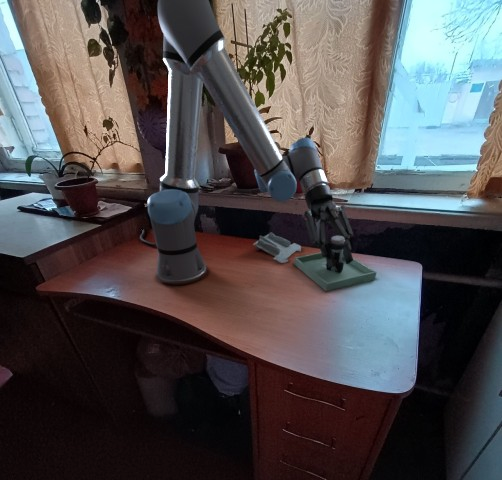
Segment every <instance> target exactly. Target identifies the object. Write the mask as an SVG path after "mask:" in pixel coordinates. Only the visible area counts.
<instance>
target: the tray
mask: <svg viewBox="0 0 502 480" xmlns="http://www.w3.org/2000/svg"><path fill="white" fill-rule="evenodd" d="M333 251H334V250H333ZM342 260H343V262H344V267H343V270H342V272H341V273H338V272H336V271H335V272H333V271H331V270H327V269H326V267H322V265H325V264H322V263H327V261H326V258H325V257H323V256H322V253H321V251H319V252H316V253H311V254H306V255H301V256H296V257H294V262H293V265H294V266H295V267H296V268H298V269H299V270H300V271H301V272H302V273H304V274H305V275H306V276H307V277H309V278H310V279H311V280H313V282H314V283H316V284H317V285H318V286H320V287H321V288H322V289H323V290H324V291H325V292H329V291H333V290H336V289H341V288H345V287H349V286H354V285H357V284H358V285H359V284H362V283H365V282H369V281H373V280H376V275H377V271H376V270H374V269H372V268H371V267H369V266H368V265H366V264H365V263H362V262H361V261H359V260H357V259H356V258H354V257H353V261H352V262H350V263H349V264H346V261H345V258H344V255H343V256H342ZM325 266H326V265H325Z"/></svg>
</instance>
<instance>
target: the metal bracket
mask: <svg viewBox="0 0 502 480" xmlns="http://www.w3.org/2000/svg"><path fill="white" fill-rule="evenodd" d="M252 246H254V247H256V251H257V252H259V250H262V251H264V252H265V253H268V254H270V255H271V256H274V257H273V261H275V262H278V263H279V264H284V263H288V262H289V260H288V258H289V257H291V256H292V255H293V254H294V253H295V252H299V253H300V252H302V246H301V245H300V244H298V243H295V242H293V243H292V244H291V241H290V240H288V239H286V238H284V237H282V236H278V235H276V234H274V233H273V232H271V231H270V232H269V233H268V234H266V235H264V236H262V235H259V239H258V240H257V241H255V242H254V243H253V244H252Z"/></svg>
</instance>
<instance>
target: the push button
mask: <svg viewBox="0 0 502 480" xmlns="http://www.w3.org/2000/svg"><path fill="white" fill-rule="evenodd" d="M327 243H329V246H330V249H331V252H332V255H333V258H334V261H335V265H334V266H333V267H331V268H329V267H328V264H327V263H322V264H325V265H326V266H325V265H322V267H326V269H327V270H331V271H333V272H335V271H336V272H338V273H341V272H342V270H343V267H344V262H343V260H342V256H343V249H344V248H346V244H347V240H346V239H345V238H344V237H343V236H337V235H333V236H331V238H330V239H328V241H327ZM333 250H334V251H333Z"/></svg>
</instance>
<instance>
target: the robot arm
mask: <svg viewBox="0 0 502 480" xmlns="http://www.w3.org/2000/svg"><path fill="white" fill-rule="evenodd" d="M157 17H158V23H159V26H160V29H161V32H162V33H163V41H162V43H163V46H162V48H163V49H162V60H163V62H164V64H165V66H166V68H167V70H168V88H167V89H168V91H167V92H168V93H167V121H166V123H167V124H166V150H165V152H166V153H165V173H164V174H163V175H162V176H161V177H160V178H159V191H157V192H155V193H153V194H151V195H150V196H149V197H148V199H147V202H146V203H147V205H146V206H147V214H148V216H149V219H150V223H151V227H152V231H153V236H154V240H155V243H153V242H150V241H148V240H145V239H144V238H143V237H144V236H145V234H146V231H145V229H143V230H142V229H141V231H142V233H141V234H140V236H139V240H140V241H141V242H142V243H144V244H146V245H149V246H152V247H156V248H157V252H158V253H157V254H158V255H157V263H156V264H157V265H156V275H157V279H158V281H160V282H161V283H163V284H166V285H170V286H171V285H172V286H180V285H187V284H192V283H195V282H197V281H199V280H201V279H203V278H204V277H205V276H206V275H207V272H208V269H207V264H206V261H205V260H204V258H203V255H202V254H201V252H200V250H199V248H198V242H197V235H196V230H195V220H196V217H197V214H198V212H199V194H200V193H199V191H200V184H199V183H198V181H197V179H196V169H197V168H196V167H197V156H198V144H199V135H200V134H199V131H200V121H201V109H202V96H203V86H204V87H205V89H206V90H207V92H208V93H209V95H210V96H211V98H212V100H213V102H214V104H215V105H216V106H217V108H218V110H219V112H220V113H221V115H222V117H223V118H224V119H225V121H226V123H227V124H228V126H229V128H230V130H231V132H232V133H233V135H234V136H235V139H236V140H237V141H238V143H239V145H240V146H241V149H243V151H244V153H245V155H246V156H247V158H248V159H249V161H250V163H251V164H252V167H253V168H254V172H253V173H254V176H255V180H256V182H257V185H258V188H259V191H260V193H262V194H265V193H268V195H269V196H270V198H272V200H274V201H276V202H279V203H285V202H287V201H289V200H291V199H292V198H293V197H294V195H295V194H296V192H297V188H298V186H297V184H298V183H299V184H300V188H301V190H302V193H303V194H302V195H303V196H304V200H305V203H306V206H307V209H308V210H306V211H304V213H303V214H302V216H301V219H302V220H303V222H304V224H305V226H306V230H307V232H308V233H307V234H308V237H309V241H310V244H311V246H312V247H316V248H317V249H318V250H319V251H320V252H321V253H322V256H323V257H325V258H326V261H327V264H328V267H329V268H331V267H333V266H334V265H335V261H334V258H333V255H332V252H331V248H330V246H329V243H328V242H326V231H325V222H327V223H328V225H330V226H331V228H332V229H333V231H334V232H335V234H336V236H343V237H344V238H345V239H346V240H347V244H346V248H344V249H343V255H344V258H345V261H346V264H349V263H350V262H352V261H353V258H354V257H353V254H352V246H351V242H350V239H351V238H352V237H353V236H354V231H353V230H352V229H353V228H352V226H351V223H350V221H349V218H348V216H347V213H346V206H345V205H344V204H342V205H340V206H338V205H336V203H335V202H334V198H333V193H332V190H331V188H330V186H329V182H328V179H327V176H326V173H325V171H324V168H323V165H322V162H321V159H320V155H319V151H318V149H317V147H316V146H315V145H316V144H315V143H314V141H313V139H312V138H309V137H301V138H299V139H297V140H296V142H293V143H292V144H291V145H290V147H289V153H288V154H286V155H284V156H283V154H282V152H281V150H280V149H279V147H278V145H277V144H276V141H275V140H274V137H273V136H272V133H271V132H270V130H269V128H268V126H267V125H266V122H265V121H264V119H263V117H262V115H261V113H260V111H259V110H258V108H257V106H256V104H255V102H254V100H253V99H252V97H251V95H250V93H249V90H248V89H247V86H246V85H245V83H244V82H243V79H242V78H241V76H240V73H239V72H238V71H237V68H236V66H235V65H234V63H233V61H232V59H231V58H230V55H229V54H228V51H227V50H226V48H225V47H226V38H225V36H224V34H223V32H222V30H221V27H220V26H219V23H218V21H217V19H216V17H215V14H214V11H213V9H212V6H211V3H210V1H209V0H157ZM297 181H298V183H297ZM314 219H315V223H314Z"/></svg>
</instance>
